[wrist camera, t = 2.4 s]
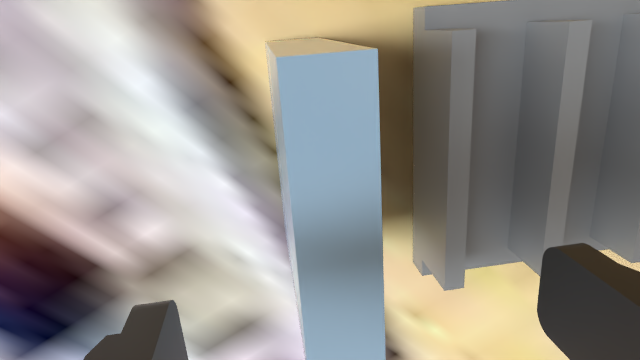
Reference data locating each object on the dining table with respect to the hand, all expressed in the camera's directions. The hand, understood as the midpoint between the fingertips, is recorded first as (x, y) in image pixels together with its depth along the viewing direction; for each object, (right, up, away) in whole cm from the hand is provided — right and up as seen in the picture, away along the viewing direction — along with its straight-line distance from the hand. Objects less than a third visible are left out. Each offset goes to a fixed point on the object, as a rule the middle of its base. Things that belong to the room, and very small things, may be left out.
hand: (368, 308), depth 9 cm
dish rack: (+12, +5, +15) cm, 20 cm away
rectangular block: (-2, +5, +13) cm, 14 cm away
